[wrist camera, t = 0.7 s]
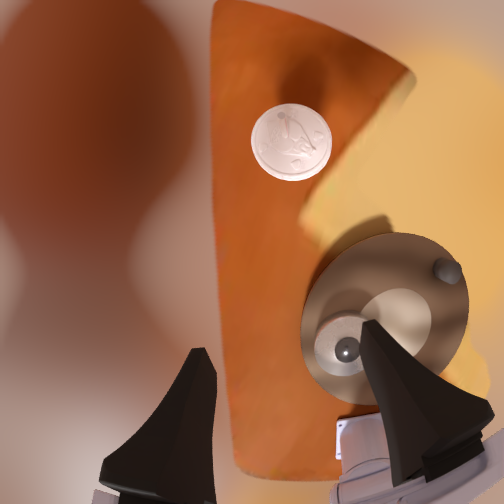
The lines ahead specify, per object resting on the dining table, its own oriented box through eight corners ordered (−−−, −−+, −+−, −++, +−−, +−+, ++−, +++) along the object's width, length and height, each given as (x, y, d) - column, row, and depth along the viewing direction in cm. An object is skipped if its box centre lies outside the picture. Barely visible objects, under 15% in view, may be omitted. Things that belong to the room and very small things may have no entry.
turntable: (453, 378, 28) (466, 394, 23) (307, 409, 32) (307, 430, 27) (462, 222, 26) (482, 223, 21) (289, 246, 30) (287, 251, 25)
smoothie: (287, 126, 29) (275, 63, 15) (334, 157, 28) (359, 112, 15) (254, 170, 30) (218, 134, 16) (301, 203, 30) (302, 190, 16)
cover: (374, 360, 28) (379, 373, 25) (316, 369, 29) (316, 382, 26) (373, 305, 27) (380, 314, 24) (311, 314, 29) (311, 324, 26)
